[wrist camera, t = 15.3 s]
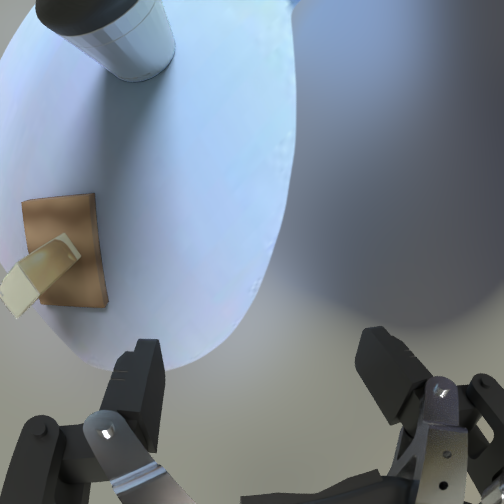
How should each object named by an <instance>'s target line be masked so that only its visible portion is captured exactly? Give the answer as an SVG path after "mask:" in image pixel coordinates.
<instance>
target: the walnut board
mask: <svg viewBox="0 0 504 504" xmlns="http://www.w3.org/2000/svg"><path fill="white" fill-rule="evenodd" d="M21 203H22V213H23V221H24V228H25V235H26V241H27V247H28V252H29V254H30V253H32V252H33V251H35V250H36V249H38V248H40V247H41V246H43V245H44V244H46V243H48V242H49V241H51V240H52V239H54V238H56V237H57V236H59V235H61V234H62V233H66V235H67V236H68V238H69V239H70V240H71V242H72V243H73V245H74V246H75V248H76V249H77V250H78V252H79V253H80V255H81V258H79V259H78V260H77V261H76V262H75V263H74V264H73V265H72V266H71V267H70V268H69V269H68V270H67V271H66V272H65V273H64V274H63V275H62V276H61V277H60V278H59V279H57V280H56V281H55V282H54V283H53V284H52V285H51V286H50V287H49V288H48V289H47V290H46V291H45V292H44V293H43V294H42V295H41V296H40V297H39V300H40V303H41V304H44V305H58V306H74V307H93V308H105V307H106V305H107V303H108V302H109V301H108V296H107V290H106V285H105V279H104V273H103V267H102V260H101V253H100V245H99V237H98V228H97V217H96V205H95V193H89V194H78V195H67V196H57V197H48V198H39V199H31V200H27V201H24V202H21Z"/></svg>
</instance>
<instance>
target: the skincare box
mask: <svg viewBox="0 0 504 504" xmlns="http://www.w3.org/2000/svg"><path fill="white" fill-rule="evenodd" d="M79 258H81V255H80V253H79V252H78V250H77V249H76V248H75V246H74V245H73V243H72V242H71V240H70V239H69V238H68V236H67V235H66V233H62V234H61V235H59V236H57V237H56V238H54V239H52V240H51V241H49V242H48V243H46V244H44V245H43V246H41V247H40V248H38V249H36V250H35V251H33V252H32V253H30V254H29V255H27V256H26V257H24V258H23V259H21V260H20V261H18V262H17V263H16V264H15V265H14V266H13V268H12V269H11V270H10V271H9V273H8V274H7V275H6V277H5V278H4V279H3V281H2V282H1V284H0V299H1V300H2V301H3V302H4V304H5V305H6V307H7V308H8V309H9V311H10V312H11V313H12V314H13V316H14V317H15V318H16V319H18V318H19V317H20V316H21V315H22V314H23V313H24V312H25V311H26V310H27V309H28V308H29V307H30V306H31V305H32V304H33V303H34V302H35V301H36V300H37V299H38V298H39V297H40V296H41V295H42V294H43V293H44V292H45V291H46V290H47V289H48V288H49V287H50V286H51V285H52V284H53V283H54V282H55V281H56V280H57V279H59V278H60V277H61V276H62V275H63V274H64V273H65V272H66V271H67V270H68V269H69V268H70V267H71V266H72V265H73V264H74V263H75V262H76V261H77V260H78V259H79Z"/></svg>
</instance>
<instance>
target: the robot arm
mask: <svg viewBox="0 0 504 504" xmlns="http://www.w3.org/2000/svg"><path fill="white" fill-rule="evenodd" d="M35 9H36V14H37V17H38V18H39V20H40V21H41V22H42V23H43V24H44V25H45V26H46V27H48V28H49V29H51V30H52V31H54V32H55V33H56V34H58V35H59V36H61V37H62V38H64V39H65V40H67V41H68V42H69V43H71V44H72V45H74V46H75V47H77V48H78V49H80V50H81V51H82V52H84V53H85V54H86V55H88V56H89V57H91V58H92V59H93V60H95V61H96V62H97V63H99V64H100V65H102V66H103V67H104V68H106V69H107V70H108V71H110V72H111V73H112V74H114V75H115V76H116V77H118V78H119V79H121V80H124V81H128V82H139V81H144V80H147V79H150V78H152V77H154V76H156V75H157V74H159V73H160V72H161V71H162V70H164V69H165V68H166V66H167V65H168V64H169V63H170V61H171V59H172V57H173V55H174V52H175V39H174V36H173V33H172V30H171V27H170V24H169V21H168V18H167V15H166V12H165V9H164V6H163V3H162V0H36V7H35ZM355 367H356V370H357V372H358V374H359V375H360V377H361V378H362V380H363V382H364V383H365V385H366V387H367V388H368V390H369V392H370V393H371V395H372V396H373V398H374V400H375V401H376V403H377V405H378V406H379V408H380V410H381V411H382V413H383V415H384V416H385V418H386V419H387V421H388V423H389V424H390V425H394V424H397V423H399V422H401V423H402V425H403V426H402V428H401V430H400V433H399V438H398V442H397V447H396V451H395V455H394V459H393V462H392V466H391V468H390V470H389V472H388V474H387V476H380V473H379V472H378V469H375V470H372V471H369V472H366V473H363V474H360V475H357V476H353V477H350V478H347V479H345V480H343V481H341V482H339V483H338V484H335V485H334V486H331V487H330V488H327V489H325V490H323V491H321V492H319V493H315V494H294V493H271V494H263V495H253V496H241V499H240V501H241V502H240V504H471V503H468V502H465V501H464V494H465V485H466V475H467V472H468V474H469V475H470V477H471V479H472V481H473V482H474V484H475V486H476V488H477V489H478V491H479V493H480V495H481V497H482V498H481V502H480V503H479V504H504V389H503V388H502V387H501V386H500V385H499V384H498V382H497V381H496V380H495V379H494V378H493V377H491V376H489V375H487V374H481V373H480V374H476V375H475V376H474V377H473V378H472V380H471V382H470V384H469V385H458V386H456V384H455V383H454V382H453V381H451V380H450V379H448V378H446V377H443V376H434V377H433V375H432V374H431V373H430V372H429V371H428V370H427V369H426V367H425V366H424V365H423V364H422V363H421V362H420V361H419V360H418V359H417V357H415V356H414V354H413V353H412V352H411V351H409V348H408V347H407V346H406V345H405V344H404V343H403V342H402V341H401V340H399V339H397V338H396V337H394V336H391V335H390V334H389V333H388V332H387V330H386V329H385V328H384V327H383V326H377V327H370V328H365V329H364V330H363V332H362V335H361V339H360V342H359V346H358V350H357V353H356V357H355ZM164 389H165V369H164V364H163V359H162V354H161V348H160V343H159V340H158V339H138V341H137V344H136V347H135V350H134V352H128V351H126V352H125V353H124V354H123V355H122V356H121V357H119V358H118V359H117V362H116V364H115V367H114V372H112V375H111V380H110V381H109V383H108V387H107V389H106V392H105V395H104V398H103V401H102V404H101V407H100V410H99V411H97V412H94V413H92V414H91V415H90V416H88V417H87V419H86V420H85V422H84V423H83V424H79V425H68V426H59V425H58V424H57V422H56V421H55V420H54V419H53V418H51V417H49V416H45V415H38V416H34V417H32V418H31V419H29V420H28V421H27V422H26V423H25V425H24V427H23V429H22V431H21V434H20V437H19V439H18V442H17V445H16V447H15V450H14V453H13V456H12V459H11V462H10V465H9V468H8V471H7V474H6V478H5V482H4V485H3V489H2V492H1V496H0V504H88V502H89V494H90V486H91V482H102V481H110V482H111V484H112V488H113V490H114V492H115V493H116V495H117V496H118V498H119V499H120V501H121V502H122V504H197V503H195V501H194V500H193V499H192V498H190V496H189V495H188V494H187V493H186V492H185V491H184V490H183V489H182V488H181V487H180V486H179V484H177V482H176V481H175V480H174V479H173V478H172V477H171V475H170V474H169V473H168V472H167V471H166V470H165V469H164V468H163V467H162V466H161V465H158V464H157V463H156V462H155V461H154V459H153V458H152V457H151V456H150V454H149V453H148V452H150V453H157V444H158V435H159V427H160V418H161V411H162V403H163V396H164ZM482 416H483V417H484V419H485V420H486V421H487V423H488V424H489V425H490V427H491V428H492V430H493V432H494V438H493V441H492V442H491V443H489V442H488V441H487V439H486V438H485V436H484V435H483V433H482V432H481V431H480V429H479V428H478V426H477V425H476V424H477V422H478V421H479V419H480V418H481V417H482Z"/></svg>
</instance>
